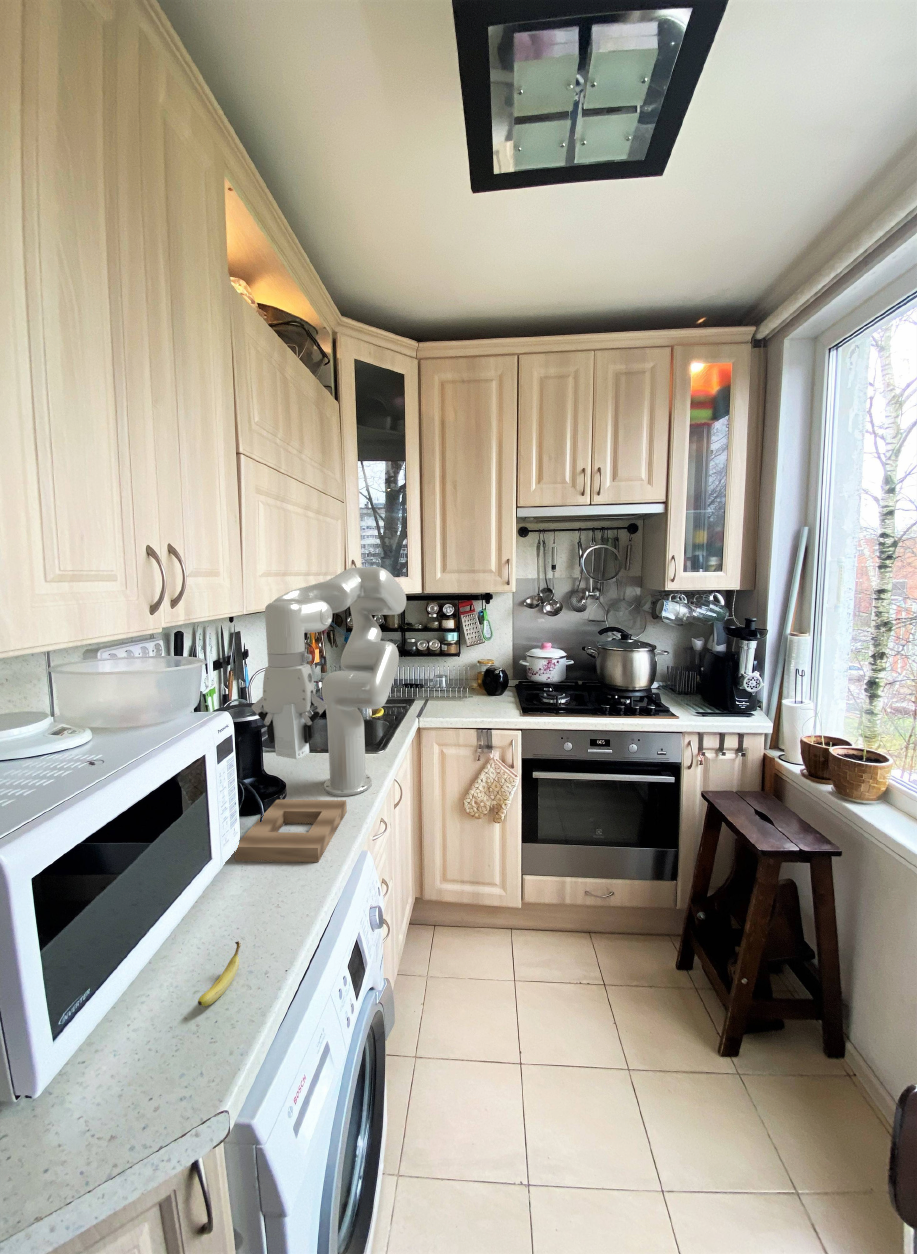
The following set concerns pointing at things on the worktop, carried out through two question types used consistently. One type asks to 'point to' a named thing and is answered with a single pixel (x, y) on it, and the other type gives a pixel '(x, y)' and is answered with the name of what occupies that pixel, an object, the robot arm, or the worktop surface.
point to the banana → (221, 981)
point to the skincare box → (289, 733)
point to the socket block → (292, 845)
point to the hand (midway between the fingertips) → (291, 740)
